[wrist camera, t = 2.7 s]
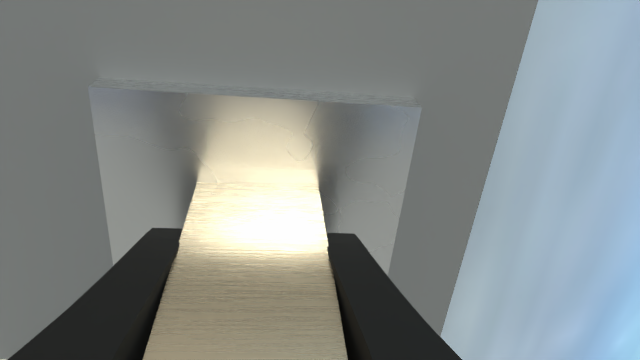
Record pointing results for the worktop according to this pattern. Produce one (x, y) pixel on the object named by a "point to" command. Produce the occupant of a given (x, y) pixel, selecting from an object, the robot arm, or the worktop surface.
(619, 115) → the worktop surface
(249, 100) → the beige blocky piece
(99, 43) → the mat
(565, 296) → the worktop surface
